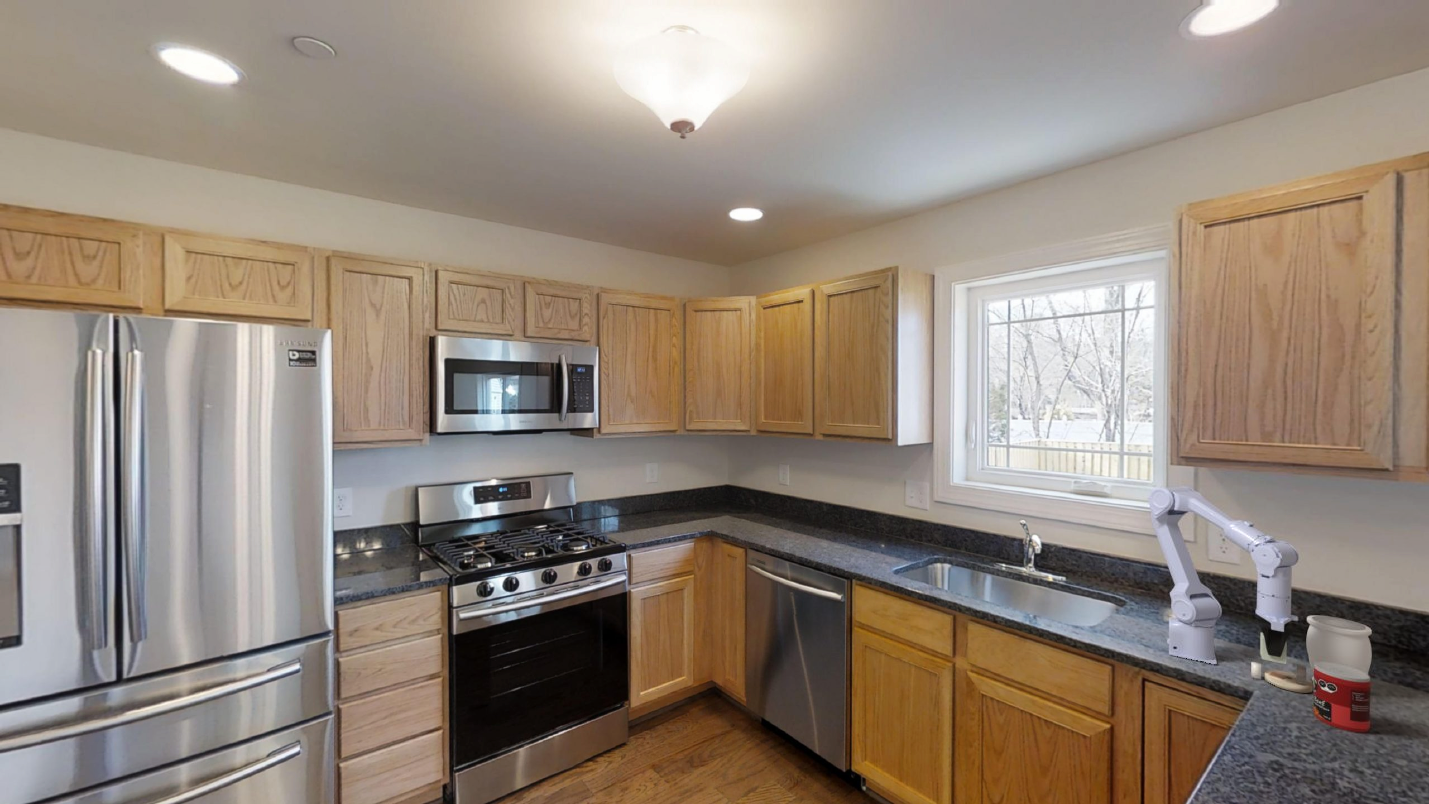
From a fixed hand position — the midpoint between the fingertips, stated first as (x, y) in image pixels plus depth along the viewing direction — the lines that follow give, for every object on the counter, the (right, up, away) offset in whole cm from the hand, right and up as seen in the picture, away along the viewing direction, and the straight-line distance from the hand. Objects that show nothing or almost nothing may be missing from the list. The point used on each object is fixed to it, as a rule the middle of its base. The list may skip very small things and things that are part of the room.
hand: (1272, 652), depth 135 cm
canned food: (0, -9, -14) cm, 17 cm away
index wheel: (+5, -8, +1) cm, 10 cm away
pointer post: (+1, -8, +5) cm, 10 cm away
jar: (+16, -9, +1) cm, 18 cm away
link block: (0, -2, 0) cm, 2 cm away
